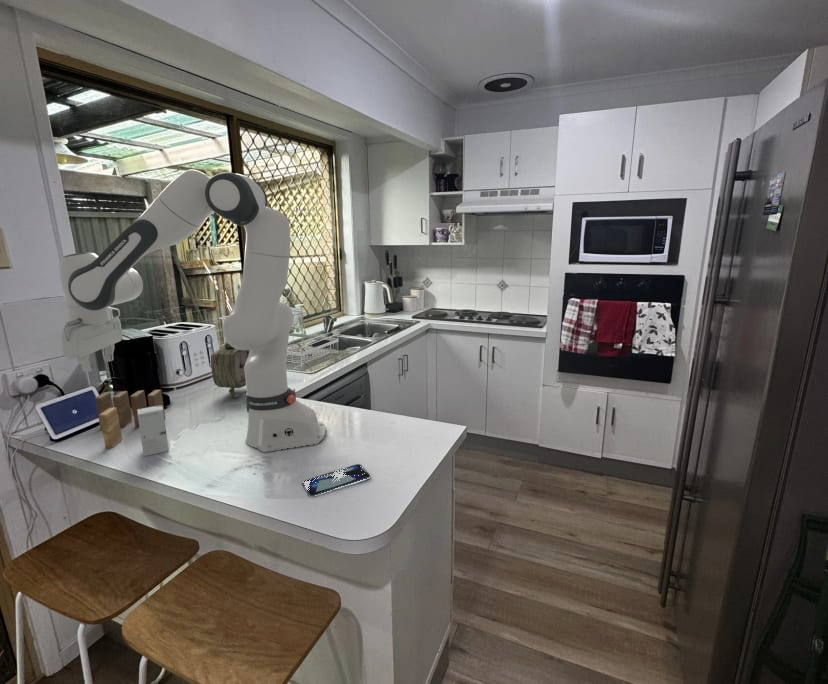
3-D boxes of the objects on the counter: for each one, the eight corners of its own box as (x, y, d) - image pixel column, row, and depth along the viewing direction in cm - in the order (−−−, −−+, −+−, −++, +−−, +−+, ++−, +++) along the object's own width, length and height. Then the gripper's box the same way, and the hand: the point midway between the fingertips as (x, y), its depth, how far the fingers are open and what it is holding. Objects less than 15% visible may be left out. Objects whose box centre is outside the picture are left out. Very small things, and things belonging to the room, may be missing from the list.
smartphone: (300, 481, 101) (359, 463, 108) (301, 484, 102) (359, 466, 109) (309, 496, 95) (371, 476, 102) (310, 500, 95) (371, 480, 102)
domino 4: (165, 418, 139) (160, 389, 136) (158, 425, 134) (153, 395, 131) (159, 419, 138) (154, 389, 136) (152, 425, 134) (147, 395, 131)
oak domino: (122, 439, 124) (116, 407, 122) (112, 447, 120) (106, 414, 117) (115, 440, 124) (109, 407, 122) (105, 448, 119) (99, 414, 117)
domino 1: (115, 421, 137) (110, 392, 135) (106, 428, 132) (101, 397, 130) (109, 421, 137) (104, 392, 134) (100, 428, 132) (94, 398, 129)
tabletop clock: (236, 400, 153) (228, 332, 147) (213, 399, 155) (204, 331, 149) (257, 387, 167) (250, 324, 161) (236, 386, 169) (228, 323, 163)
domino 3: (149, 419, 138) (144, 390, 136) (141, 426, 133) (136, 396, 131) (143, 420, 138) (138, 390, 135) (135, 426, 133) (129, 396, 131)
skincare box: (143, 457, 114) (136, 414, 111) (143, 450, 118) (135, 409, 115) (170, 450, 117) (163, 409, 114) (168, 444, 121) (162, 404, 118)
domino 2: (132, 420, 137) (127, 391, 135) (124, 427, 133) (118, 396, 130) (126, 421, 137) (121, 391, 135) (118, 427, 132) (112, 397, 130)
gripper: (77, 322, 103) (88, 377, 107) (122, 309, 123) (131, 355, 126) (48, 323, 103) (60, 378, 106) (99, 309, 123) (108, 356, 126)
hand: (99, 365), depth 116 cm, fingers open, 8 cm apart
